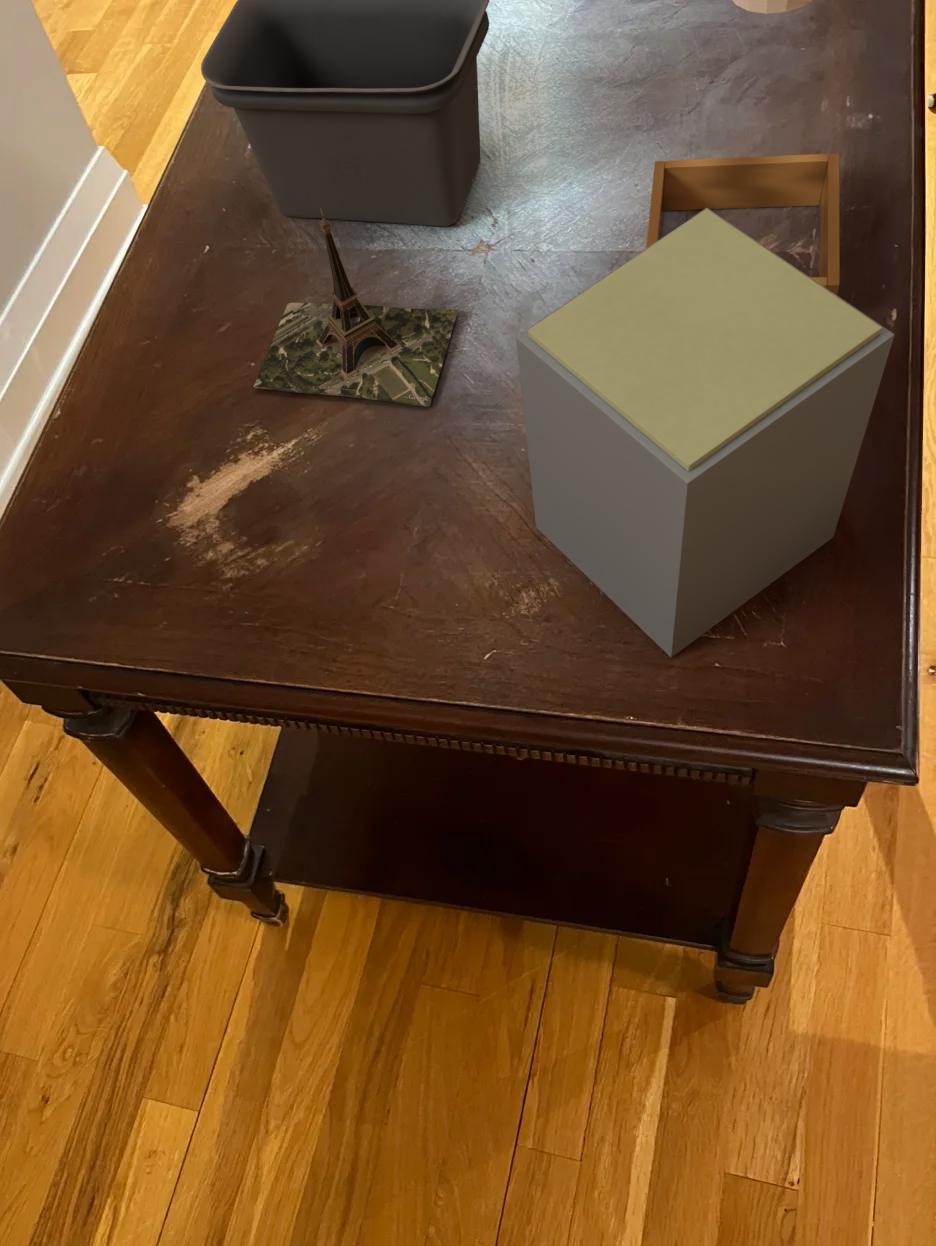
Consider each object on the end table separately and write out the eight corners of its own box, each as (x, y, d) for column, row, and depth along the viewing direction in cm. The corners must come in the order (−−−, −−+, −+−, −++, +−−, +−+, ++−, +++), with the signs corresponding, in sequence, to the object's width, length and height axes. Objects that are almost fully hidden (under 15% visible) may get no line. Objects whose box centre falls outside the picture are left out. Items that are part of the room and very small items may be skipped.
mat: (880, 334, 57) (882, 327, 56) (688, 472, 55) (689, 465, 55) (706, 215, 63) (707, 208, 62) (528, 336, 61) (527, 330, 60)
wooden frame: (830, 198, 86) (839, 152, 82) (829, 327, 80) (839, 284, 77) (653, 204, 89) (654, 160, 85) (640, 329, 83) (642, 288, 80)
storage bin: (241, 237, 96) (185, 83, 83) (300, 119, 102) (255, -42, 89) (473, 255, 90) (450, 92, 77) (521, 129, 96) (507, -43, 83)
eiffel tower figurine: (251, 395, 87) (194, 260, 76) (288, 302, 91) (240, 160, 80) (430, 410, 83) (400, 270, 72) (461, 312, 87) (437, 164, 76)
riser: (833, 537, 72) (895, 334, 57) (671, 658, 71) (687, 483, 55) (688, 419, 79) (706, 207, 63) (535, 527, 77) (515, 336, 61)
